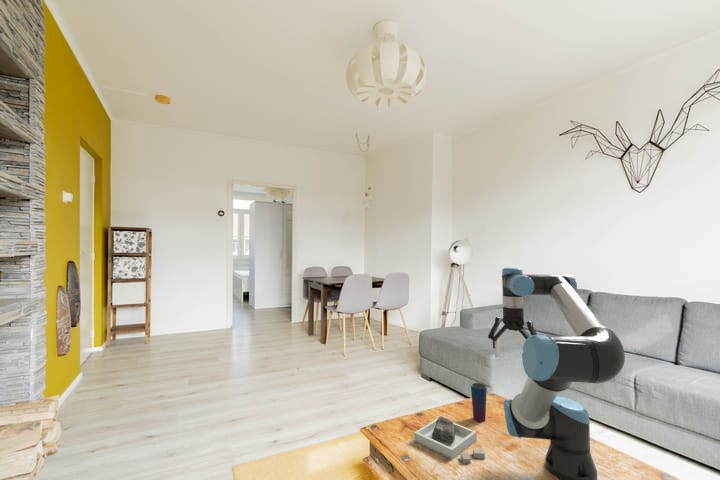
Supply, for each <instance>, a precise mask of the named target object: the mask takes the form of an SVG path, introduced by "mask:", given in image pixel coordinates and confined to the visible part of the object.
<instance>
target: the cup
mask: <svg viewBox="0 0 720 480" xmlns="http://www.w3.org/2000/svg"><path fill="white" fill-rule="evenodd" d="M487 387H488V385H486V384H484V383H482V382H471V384H470V392H471V404H472V415H473V417H472V418H473V420H474V421H475V422H477V423H484V422H486V414H487V391H488V390H487V389H488V388H487Z"/></svg>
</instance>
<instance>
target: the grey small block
mask: <svg viewBox="0 0 720 480" xmlns="http://www.w3.org/2000/svg"><path fill="white" fill-rule="evenodd" d="M485 455H486V453H485V451H484V449H481V448H472V456H473V459H480V460H481V459H484V460H485V458H486V456H485Z"/></svg>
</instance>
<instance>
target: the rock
mask: <svg viewBox="0 0 720 480" xmlns="http://www.w3.org/2000/svg"><path fill="white" fill-rule="evenodd" d="M437 418H438V419H437ZM437 418H436V419H437V421H436V426H435V428H434V430H433V433H432V438H433V439H434V440H436V438H437V437H438V438H442V439H444V440H445V441H447V440H455V428H454V424H453V423H454V422H453V420H450V419H449V418H446V417H443V416H442V415H441V416H439V417H437ZM435 437H436V438H435Z"/></svg>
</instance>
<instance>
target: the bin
mask: <svg viewBox="0 0 720 480" xmlns="http://www.w3.org/2000/svg"><path fill="white" fill-rule="evenodd" d="M438 418H439V417H437V418H435V419H434V420H433V421H431V422H429V423H428V424H426V425H424V426H423V427H421V428H419V429H418V430H416V431H415V432H413V434H414V435H413V436H414V439H413V440H414V441H413V442H415V443H416V444H419V445H421V446H423V447H424V448H427V449H429V450H431V451H433V452H435V453H437V454H439V455H441V456H444V457H445V458H448V459H449V460H452V461H453V460H454V459H456V458H457V457H458V456H459V455H460V454H463V452H464V451H466V450H467V449H468V448H469V447H471V446H472V445H473V444H475V443H476V442H477V441H478V440H477V439H478V438H477V431H475V430H473V429H470V428H468V427H465V426H463V425H460V424H458V423H455V422H453V424H454V428H455V440H447V441H445V440H444V439H442V438H438V437H437V438H436V437H435V438H436V440H434V439H433V438H432V433H433V430H434V428H435V426H436V421H437V419H438Z"/></svg>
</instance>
